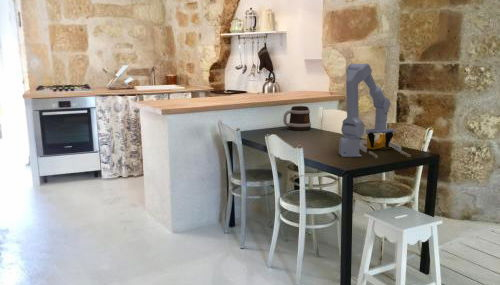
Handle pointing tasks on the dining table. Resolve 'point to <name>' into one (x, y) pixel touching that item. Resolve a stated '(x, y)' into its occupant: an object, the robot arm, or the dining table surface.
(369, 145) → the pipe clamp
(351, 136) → the robot arm
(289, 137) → the dining table surface
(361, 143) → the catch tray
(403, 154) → the slot guide
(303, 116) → the mug
